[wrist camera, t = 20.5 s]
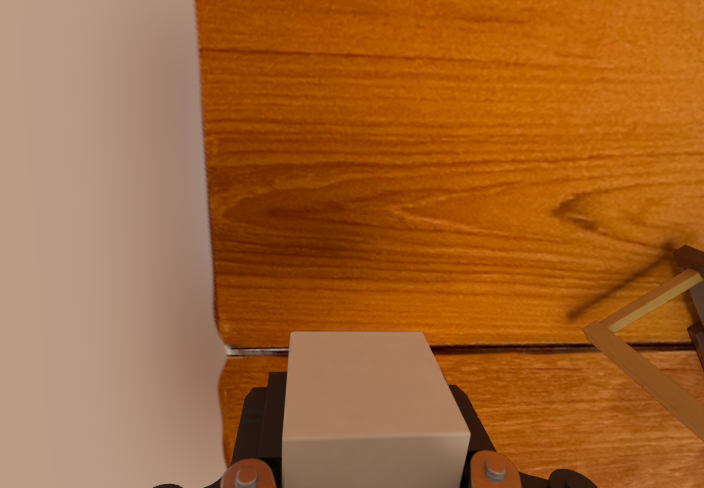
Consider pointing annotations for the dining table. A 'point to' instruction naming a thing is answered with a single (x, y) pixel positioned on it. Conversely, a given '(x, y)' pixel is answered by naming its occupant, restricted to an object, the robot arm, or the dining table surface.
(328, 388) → the block
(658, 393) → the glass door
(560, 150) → the dining table surface
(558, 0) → the dining table surface
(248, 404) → the robot arm
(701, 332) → the cabinet
